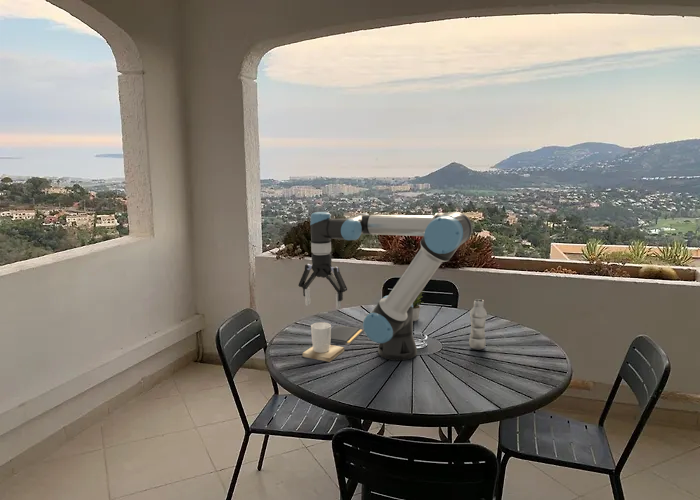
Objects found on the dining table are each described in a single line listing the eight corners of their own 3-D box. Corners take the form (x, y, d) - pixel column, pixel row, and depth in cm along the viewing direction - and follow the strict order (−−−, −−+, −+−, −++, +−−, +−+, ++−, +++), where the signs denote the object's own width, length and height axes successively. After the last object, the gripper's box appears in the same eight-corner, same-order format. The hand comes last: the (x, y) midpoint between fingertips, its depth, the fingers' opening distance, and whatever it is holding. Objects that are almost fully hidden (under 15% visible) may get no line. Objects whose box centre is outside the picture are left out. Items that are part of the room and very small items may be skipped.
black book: (335, 322, 242) (366, 327, 236) (335, 326, 242) (366, 331, 237) (315, 338, 224) (348, 343, 218) (315, 342, 224) (348, 347, 219)
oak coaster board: (344, 350, 213) (344, 347, 213) (329, 361, 203) (329, 358, 202) (318, 345, 219) (318, 342, 218) (302, 356, 208) (302, 352, 208)
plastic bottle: (488, 348, 214) (490, 300, 210) (480, 353, 209) (481, 304, 205) (474, 344, 219) (476, 297, 214) (465, 348, 214) (467, 300, 210)
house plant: (391, 315, 255) (391, 282, 252) (417, 312, 259) (418, 279, 256) (402, 325, 242) (403, 290, 238) (430, 321, 246) (431, 287, 243)
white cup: (328, 354, 206) (328, 329, 204) (309, 352, 208) (308, 328, 206) (333, 346, 214) (333, 322, 212) (314, 345, 215) (313, 321, 213)
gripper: (355, 253, 200) (356, 307, 204) (298, 248, 211) (300, 300, 215) (346, 257, 193) (347, 313, 198) (288, 252, 205) (290, 305, 209)
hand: (323, 306), depth 207 cm, fingers open, 13 cm apart
